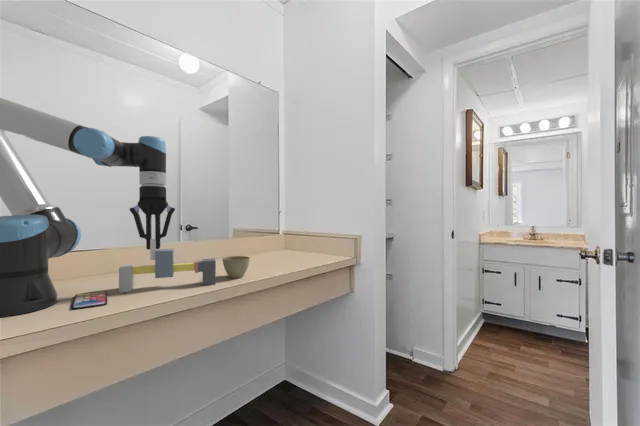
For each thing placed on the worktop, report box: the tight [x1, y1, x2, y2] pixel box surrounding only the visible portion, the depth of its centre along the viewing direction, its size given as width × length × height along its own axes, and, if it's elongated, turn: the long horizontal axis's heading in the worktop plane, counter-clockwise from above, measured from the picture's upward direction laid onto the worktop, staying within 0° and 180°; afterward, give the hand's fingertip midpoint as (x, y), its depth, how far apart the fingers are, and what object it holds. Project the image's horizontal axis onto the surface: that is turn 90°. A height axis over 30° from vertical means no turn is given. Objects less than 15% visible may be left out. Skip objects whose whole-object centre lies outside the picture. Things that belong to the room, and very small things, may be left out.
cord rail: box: [118, 258, 217, 294], centre depth 98 cm, size 28×7×8 cm, turn 113°
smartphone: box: [71, 290, 108, 311], centre depth 83 cm, size 7×1×15 cm
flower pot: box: [222, 255, 251, 279], centre depth 113 cm, size 10×10×7 cm
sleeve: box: [154, 248, 175, 279], centre depth 98 cm, size 5×5×8 cm
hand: (153, 259), depth 96 cm, fingers closed
